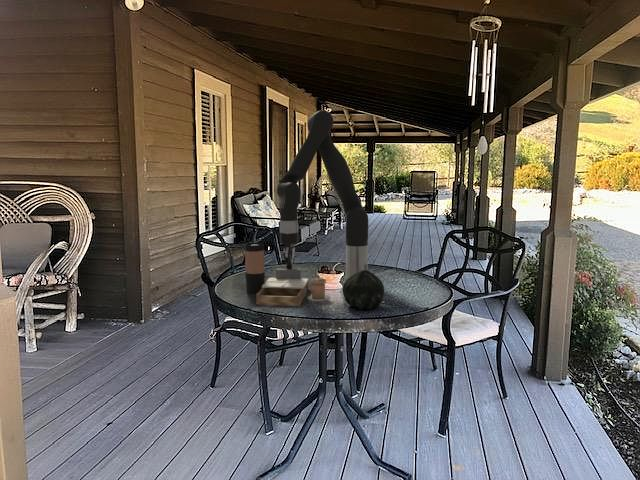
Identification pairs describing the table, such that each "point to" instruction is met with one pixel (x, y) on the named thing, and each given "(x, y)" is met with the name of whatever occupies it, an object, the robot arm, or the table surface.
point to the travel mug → (254, 267)
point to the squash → (363, 290)
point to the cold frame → (281, 296)
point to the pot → (318, 288)
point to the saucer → (318, 299)
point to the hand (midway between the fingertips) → (289, 272)
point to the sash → (286, 279)
